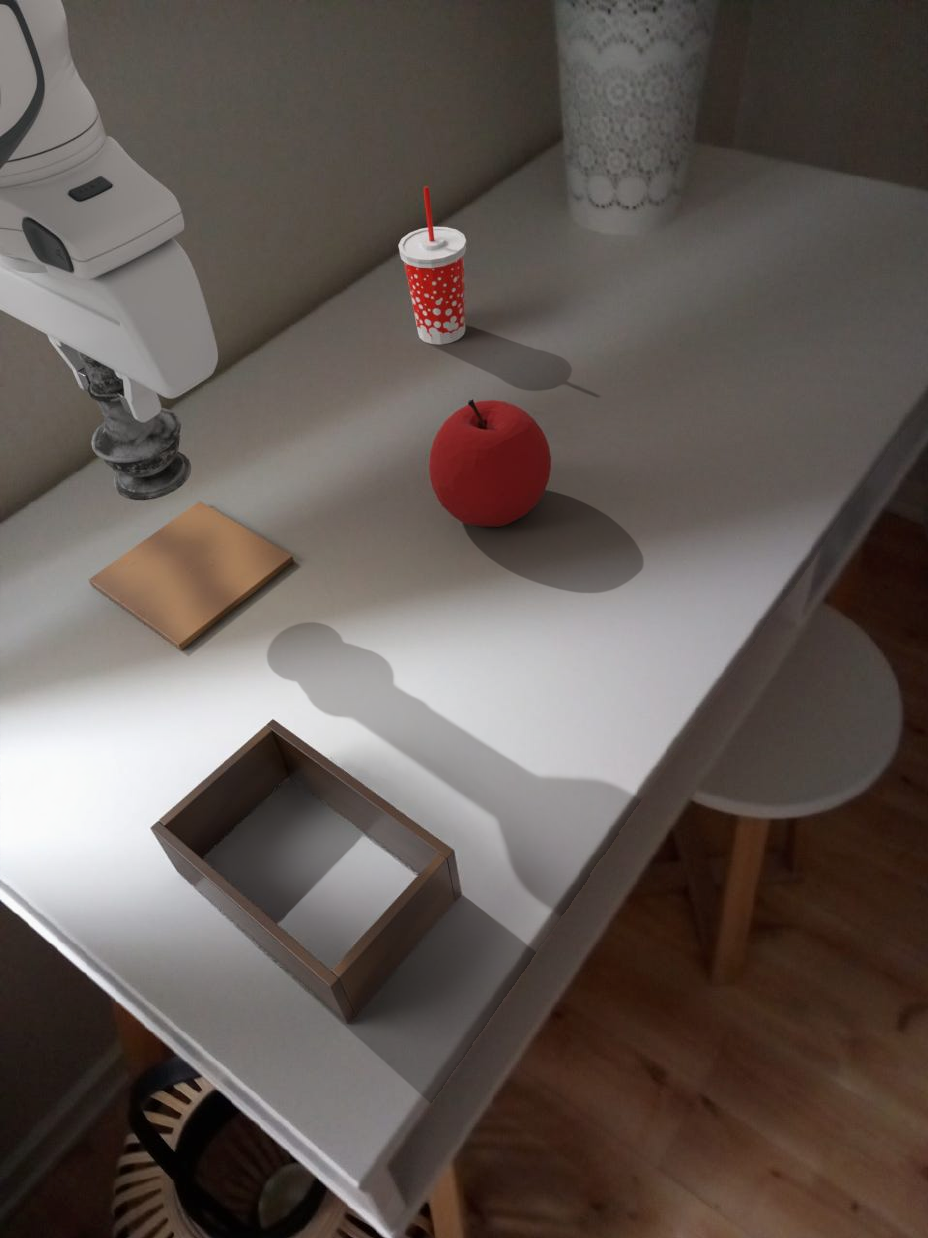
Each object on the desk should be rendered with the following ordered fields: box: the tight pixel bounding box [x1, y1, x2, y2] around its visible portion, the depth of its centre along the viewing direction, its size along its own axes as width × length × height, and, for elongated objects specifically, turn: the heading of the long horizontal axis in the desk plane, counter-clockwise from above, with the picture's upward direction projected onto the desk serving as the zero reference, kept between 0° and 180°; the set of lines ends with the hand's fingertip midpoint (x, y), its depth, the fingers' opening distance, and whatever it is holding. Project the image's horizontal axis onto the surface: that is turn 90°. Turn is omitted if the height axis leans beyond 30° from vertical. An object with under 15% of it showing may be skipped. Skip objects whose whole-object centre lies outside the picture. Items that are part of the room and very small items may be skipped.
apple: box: [428, 398, 552, 528], centre depth 72 cm, size 9×9×10 cm
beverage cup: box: [397, 185, 467, 346], centre depth 89 cm, size 6×6×14 cm
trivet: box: [88, 500, 294, 651], centre depth 74 cm, size 11×11×1 cm
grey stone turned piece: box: [78, 351, 192, 501], centre depth 62 cm, size 6×6×12 cm
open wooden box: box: [150, 718, 463, 1025], centre depth 54 cm, size 9×14×5 cm, turn 50°
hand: (122, 401), depth 62 cm, fingers closed on grey stone turned piece, 3 cm apart
